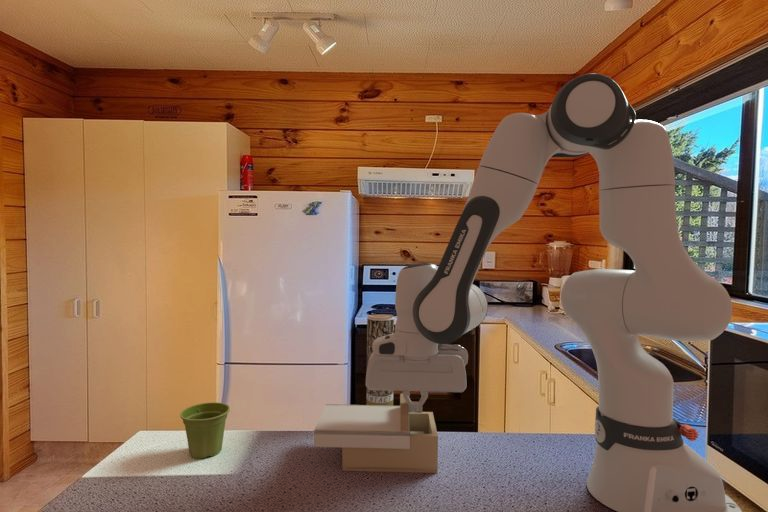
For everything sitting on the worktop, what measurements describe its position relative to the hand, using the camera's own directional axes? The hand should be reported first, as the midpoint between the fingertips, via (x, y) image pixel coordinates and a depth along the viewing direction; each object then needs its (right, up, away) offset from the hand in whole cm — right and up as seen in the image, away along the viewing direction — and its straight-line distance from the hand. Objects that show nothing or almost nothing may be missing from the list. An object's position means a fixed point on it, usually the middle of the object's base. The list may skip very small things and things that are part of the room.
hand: (415, 411), depth 88 cm
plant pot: (-43, -9, +2) cm, 44 cm away
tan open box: (-5, -9, 0) cm, 11 cm away
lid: (-10, -4, +1) cm, 11 cm away
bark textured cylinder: (-7, -9, +23) cm, 25 cm away
